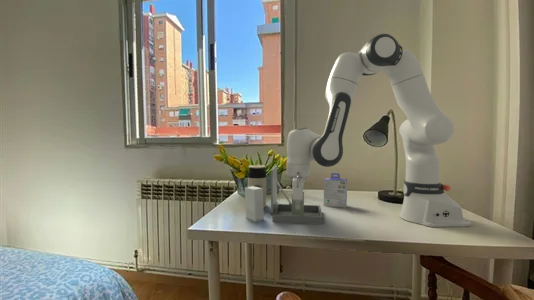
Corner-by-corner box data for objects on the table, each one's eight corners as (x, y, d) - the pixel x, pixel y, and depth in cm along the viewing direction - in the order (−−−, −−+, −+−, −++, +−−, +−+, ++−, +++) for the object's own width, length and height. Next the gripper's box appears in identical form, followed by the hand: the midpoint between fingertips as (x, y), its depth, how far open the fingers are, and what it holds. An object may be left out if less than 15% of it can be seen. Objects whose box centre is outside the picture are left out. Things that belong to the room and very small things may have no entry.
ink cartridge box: (346, 205, 123) (347, 173, 122) (346, 208, 117) (347, 175, 116) (323, 203, 125) (324, 172, 124) (323, 207, 120) (323, 174, 119)
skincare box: (264, 220, 101) (264, 188, 100) (254, 223, 98) (254, 189, 97) (253, 216, 105) (253, 185, 105) (244, 219, 102) (244, 187, 102)
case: (319, 212, 112) (320, 165, 111) (322, 225, 96) (323, 171, 94) (275, 210, 114) (275, 165, 113) (270, 223, 98) (271, 170, 97)
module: (303, 214, 106) (303, 190, 106) (303, 218, 102) (303, 192, 101) (292, 214, 107) (292, 190, 106) (291, 217, 103) (291, 192, 102)
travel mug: (250, 204, 124) (250, 164, 123) (267, 204, 123) (267, 165, 122) (245, 208, 117) (245, 166, 115) (264, 209, 115) (264, 167, 114)
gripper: (307, 175, 93) (306, 215, 94) (306, 167, 113) (306, 200, 114) (288, 174, 94) (288, 214, 94) (291, 167, 114) (290, 200, 115)
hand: (297, 207), depth 104 cm, fingers closed on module, 4 cm apart
